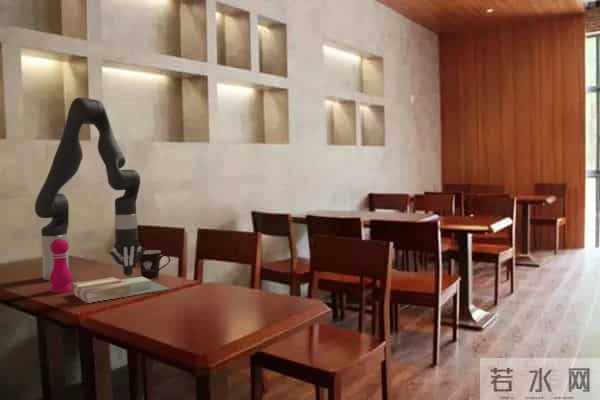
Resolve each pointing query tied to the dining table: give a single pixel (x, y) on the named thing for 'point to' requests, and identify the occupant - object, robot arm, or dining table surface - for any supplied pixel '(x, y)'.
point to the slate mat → (154, 288)
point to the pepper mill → (60, 266)
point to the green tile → (138, 283)
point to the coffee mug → (151, 263)
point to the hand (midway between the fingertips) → (128, 275)
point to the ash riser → (101, 289)
